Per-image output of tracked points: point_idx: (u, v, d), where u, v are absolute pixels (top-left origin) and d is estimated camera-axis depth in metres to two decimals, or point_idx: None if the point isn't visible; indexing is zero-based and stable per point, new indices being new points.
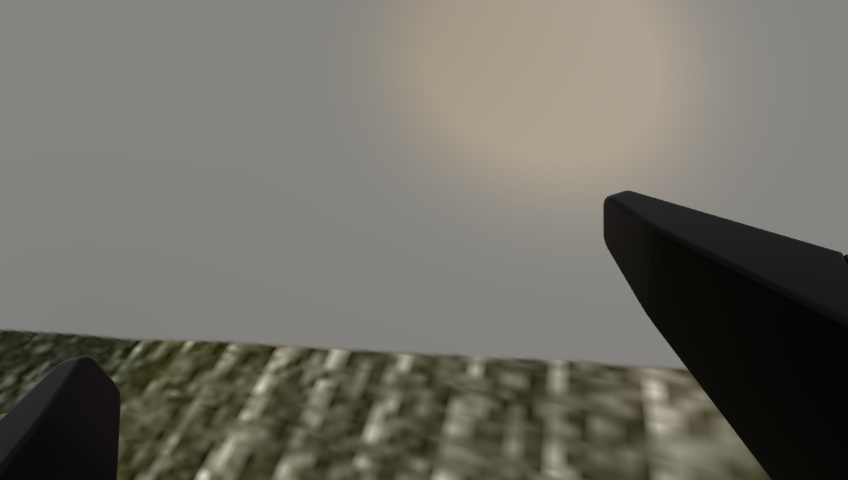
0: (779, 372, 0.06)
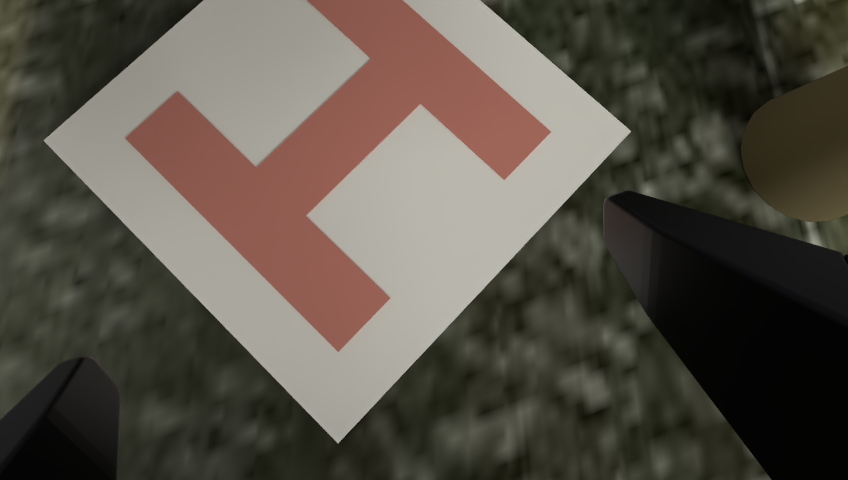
0: (779, 372, 0.06)
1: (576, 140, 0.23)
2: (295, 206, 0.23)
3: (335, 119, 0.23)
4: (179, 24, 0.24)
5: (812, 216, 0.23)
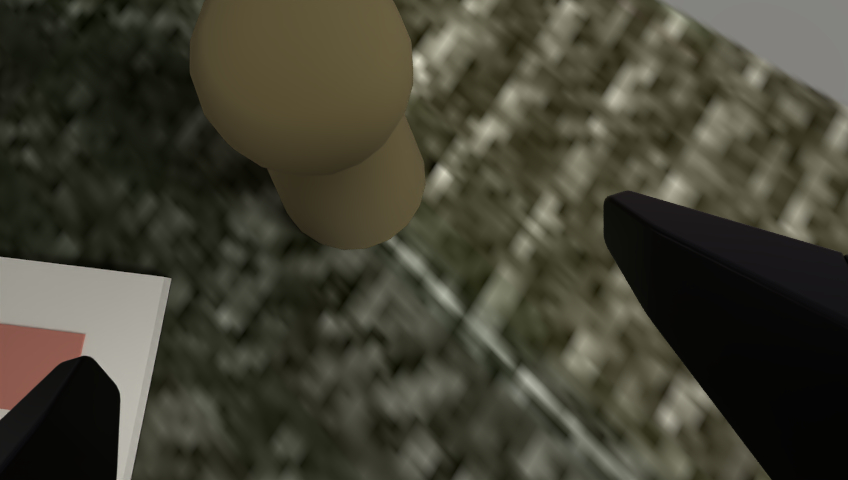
0: (779, 372, 0.06)
1: (116, 324, 0.20)
2: None
3: None
4: None
5: (382, 237, 0.21)
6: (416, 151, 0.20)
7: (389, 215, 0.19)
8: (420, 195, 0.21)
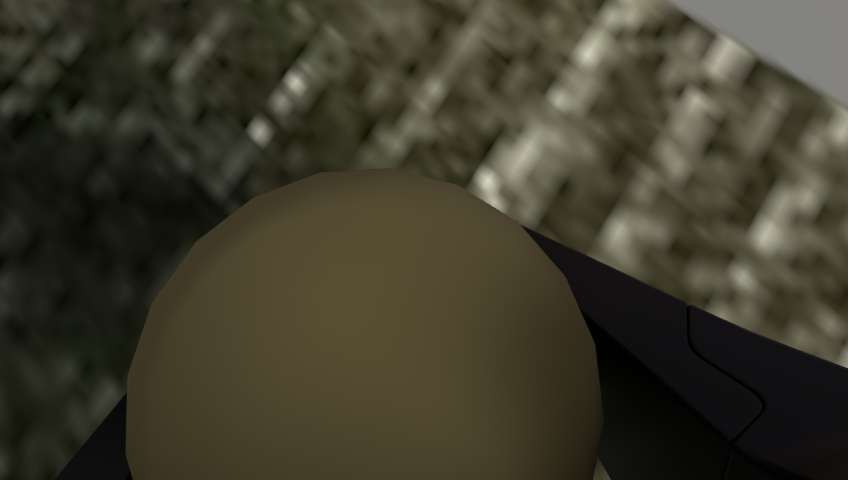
0: (627, 423, 0.06)
1: None
2: None
3: None
4: None
5: None
6: None
7: None
8: None
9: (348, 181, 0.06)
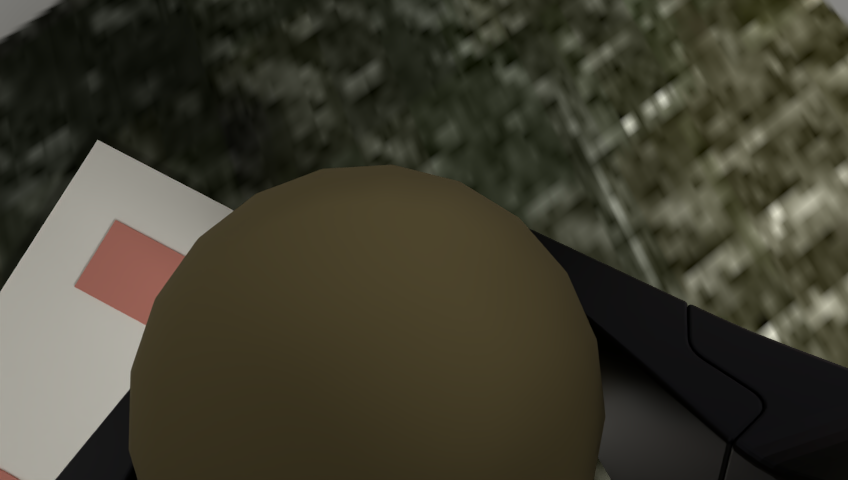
0: (627, 422, 0.06)
1: None
2: None
3: None
4: None
5: None
6: None
7: None
8: None
9: (350, 177, 0.06)
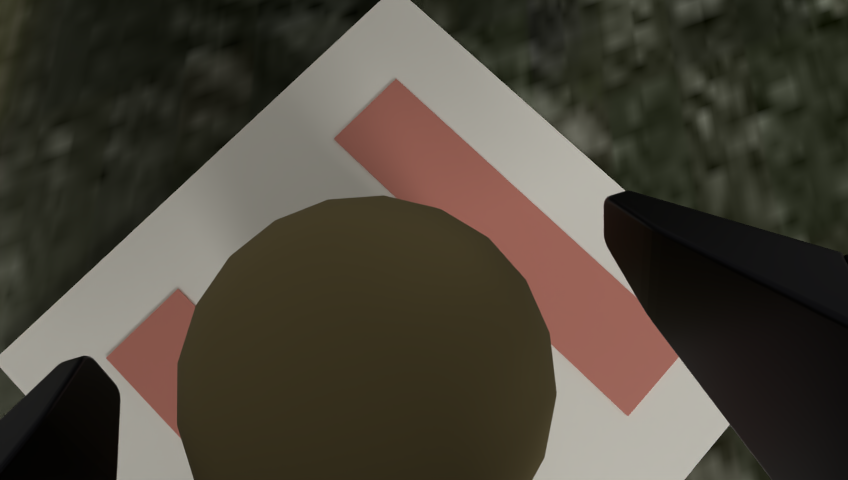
0: (779, 372, 0.06)
1: None
2: None
3: None
4: (180, 190, 0.18)
5: None
6: None
7: None
8: None
9: (350, 207, 0.07)
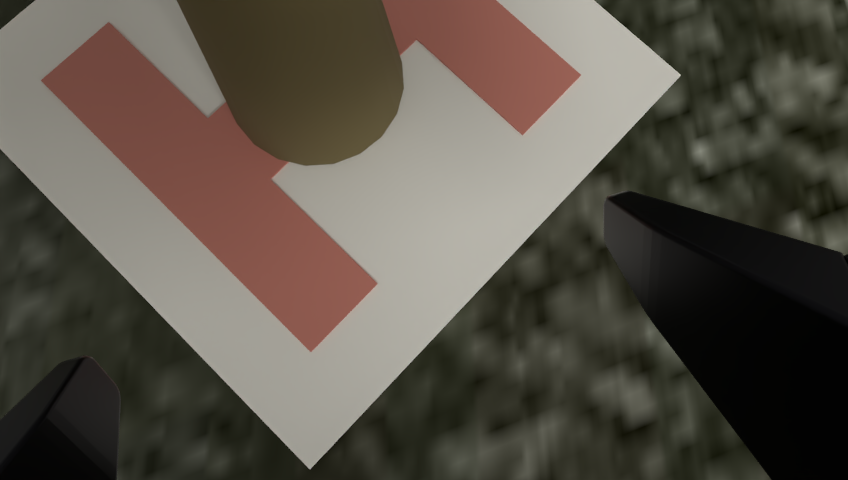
0: (779, 372, 0.06)
1: (612, 86, 0.19)
2: (257, 167, 0.18)
3: None
4: None
5: (351, 149, 0.17)
6: (390, 34, 0.16)
7: (356, 113, 0.16)
8: (397, 99, 0.18)
9: None
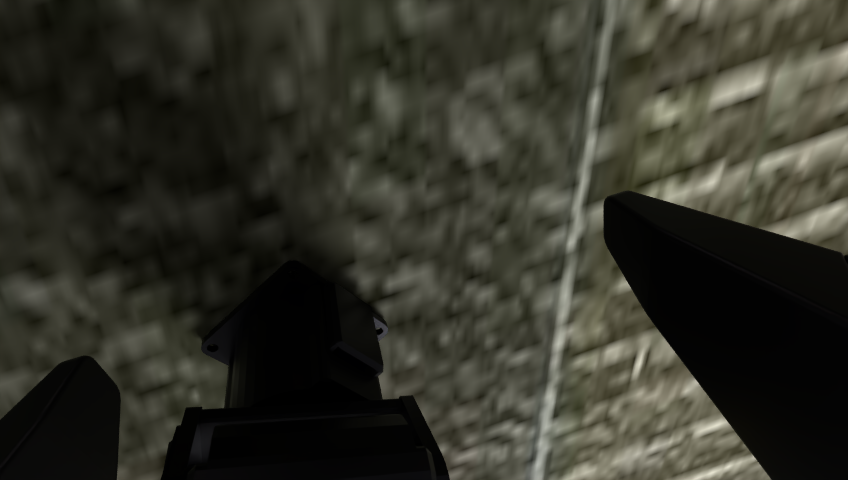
0: (779, 371, 0.06)
1: None
2: None
3: None
4: None
5: None
6: None
7: None
8: None
9: None
